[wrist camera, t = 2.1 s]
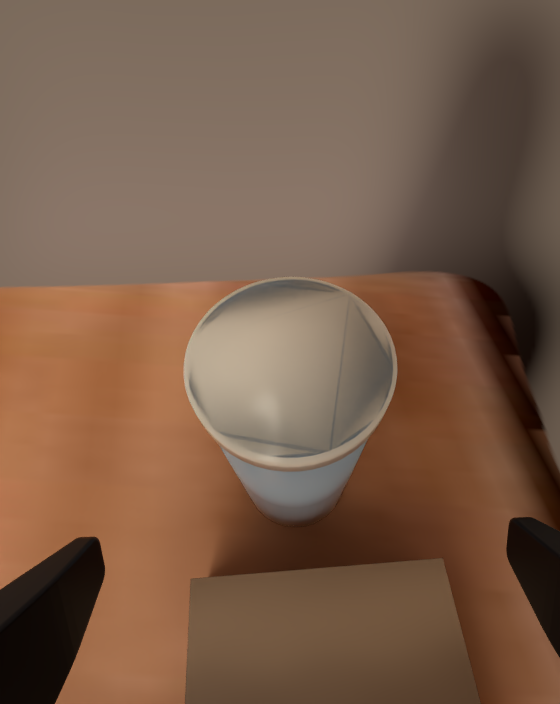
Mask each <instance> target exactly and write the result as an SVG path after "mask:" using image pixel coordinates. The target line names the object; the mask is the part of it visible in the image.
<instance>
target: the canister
mask: <svg viewBox="0 0 560 704" xmlns="http://www.w3.org/2000/svg"><path fill="white" fill-rule="evenodd" d="M396 379H397V357H396V352H395V347H394V344H393V341H392V339H391V336H390V334H389V332H388V330H387V328H386V326H385V325H384V323H383V322H382V320H381V319H380V318H379V316H378V315H377V314H376V313H375V312H374V311H373V309H372V308H371V307H370V306H368V305H367V304H366V303H365V302H364V301H363V300H361V299H360V298H359V297H357V296H356V295H354V294H353V293H351V292H349V291H347V290H345V289H343V288H341V287H339V286H336V285H334V284H331V283H328V282H325V281H321V280H317V279H311V278H304V277H280V278H272V279H267V280H263V281H258V282H255V283H252V284H250V285H247V286H244V287H242V288H240V289H238V290H236V291H234V292H232V293H231V294H229V295H227V296H226V297H224V298H223V299H222V300H220V301H219V302H218V303H217V304H215V305H214V306H213V307H212V308H211V309H210V310H209V311H208V312H207V313H206V315H205V316H204V317H203V318H202V319H201V321H200V322H199V324H198V325H197V327H196V328H195V330H194V332H193V334H192V336H191V338H190V341H189V343H188V347H187V350H186V353H185V360H184V382H185V388H186V392H187V395H188V398H189V401H190V403H191V405H192V407H193V409H194V411H195V413H196V415H197V417H198V418H199V420H200V422H201V423H202V425H203V426H204V428H205V429H206V431H207V432H208V433H209V435H210V436H211V437H212V438H213V439H214V440H215V441H216V442H217V443H218V445H219V446H220V447H221V449H222V451H223V452H224V454H225V456H226V458H227V459H228V461H229V463H230V464H231V466H232V468H233V469H234V471H235V473H236V475H237V476H238V478H239V480H240V481H241V483H242V485H243V487H244V488H245V490H246V492H247V493H248V495H249V497H250V498H251V500H252V502H253V503H254V505H255V506H256V508H257V509H258V510H259V511H260V512H261V513H262V514H263V515H264V516H265V517H267V518H268V519H270V520H271V521H273V522H275V523H278V524H280V525H284V526H290V527H302V526H307V525H311V524H314V523H316V522H318V521H320V520H321V519H323V518H324V517H326V516H327V515H328V514H329V513H330V512H331V511H332V510H333V509H334V507H335V506H336V504H337V503H338V501H339V499H340V497H341V495H342V493H343V491H344V489H345V486H346V484H347V482H348V480H349V478H350V476H351V474H352V472H353V469H354V467H355V465H356V463H357V461H358V459H359V457H360V454H361V452H362V450H363V448H364V446H365V444H366V442H367V440H368V438H369V437H370V436H371V435H372V434H373V432H374V431H375V429H376V428H377V426H378V425H379V423H380V422H381V420H382V418H383V416H384V414H385V412H386V410H387V408H388V405H389V403H390V401H391V399H392V396H393V393H394V389H395V386H396Z"/></svg>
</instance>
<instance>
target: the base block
mask: <svg viewBox="0 0 560 704" xmlns="http://www.w3.org/2000/svg"><path fill="white" fill-rule="evenodd" d="M185 704H481V703H480V699H479V695H478V691H477V687H476V683H475V679H474V676H473V672H472V668H471V664H470V660H469V656H468V653H467V649H466V645H465V641H464V637H463V633H462V630H461V626H460V622H459V618H458V614H457V610H456V607H455V603H454V599H453V595H452V591H451V587H450V584H449V580H448V576H447V572H446V568H445V564H444V561H443V558H437V559H424V560H412V561H400V562H388V563H376V564H364V565H352V566H340V567H327V568H315V569H303V570H291V571H279V572H267V573H255V574H242V575H230V576H218V577H206V578H194V579H191V584H190V606H189V627H188V649H187V671H186V692H185Z"/></svg>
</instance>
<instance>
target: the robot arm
mask: <svg viewBox="0 0 560 704" xmlns="http://www.w3.org/2000/svg"><path fill="white" fill-rule="evenodd" d="M506 551H507V557H508V560H509V563H510V565H511V567H512V569H513V571H514V573H515V575H516V577H517V579H518V581H519V583H520V585H521V587H522V589H523V590H524V592H525V594H526V596H527V598H528V600H529V602H530V604H531V606H532V608H533V610H534V612H535V614H536V616H537V618H538V620H539V622H540V624H541V626H542V628H543V630H544V632H545V633H546V635H547V637H548V639H549V641H550V642H551V644H552V646H553V647H554V649H555V651H556V652H557V654H558V656H559V657H560V531H558V530H556V529H554V528H552V527H550V526H548V525H546V524H544V523H542V522H540V521H538V520H536V519H534V518H531V517H519V518H513V519H511V520H510V522H509V528H508V538H507V548H506ZM104 575H105V565H104V560H103V555H102V550H101V545H100V541H99V539H98V538H96V537H80V538H77V539H75V540H73V541H72V542H71V543H69V544H68V545H66V546H65V547H63V548H62V549H60V550H59V551H57V552H56V553H54V554H53V555H51V556H50V557H48V558H47V559H45V560H44V561H42V562H41V563H39V564H38V565H36V566H35V567H33V568H32V569H30V570H29V571H27V572H26V573H24V574H23V575H21V576H20V577H18V578H17V579H15V580H14V581H12V582H11V583H9V584H8V585H6V586H5V587H3V588H2V589H0V704H55V702H56V700H57V698H58V696H59V694H60V691H61V689H62V687H63V685H64V683H65V680H66V678H67V676H68V674H69V672H70V669H71V667H72V665H73V662H74V660H75V658H76V655H77V653H78V650H79V647H80V645H81V642H82V639H83V636H84V633H85V631H86V628H87V625H88V622H89V619H90V617H91V614H92V611H93V608H94V605H95V602H96V600H97V597H98V594H99V591H100V588H101V585H102V583H103V580H104Z"/></svg>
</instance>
